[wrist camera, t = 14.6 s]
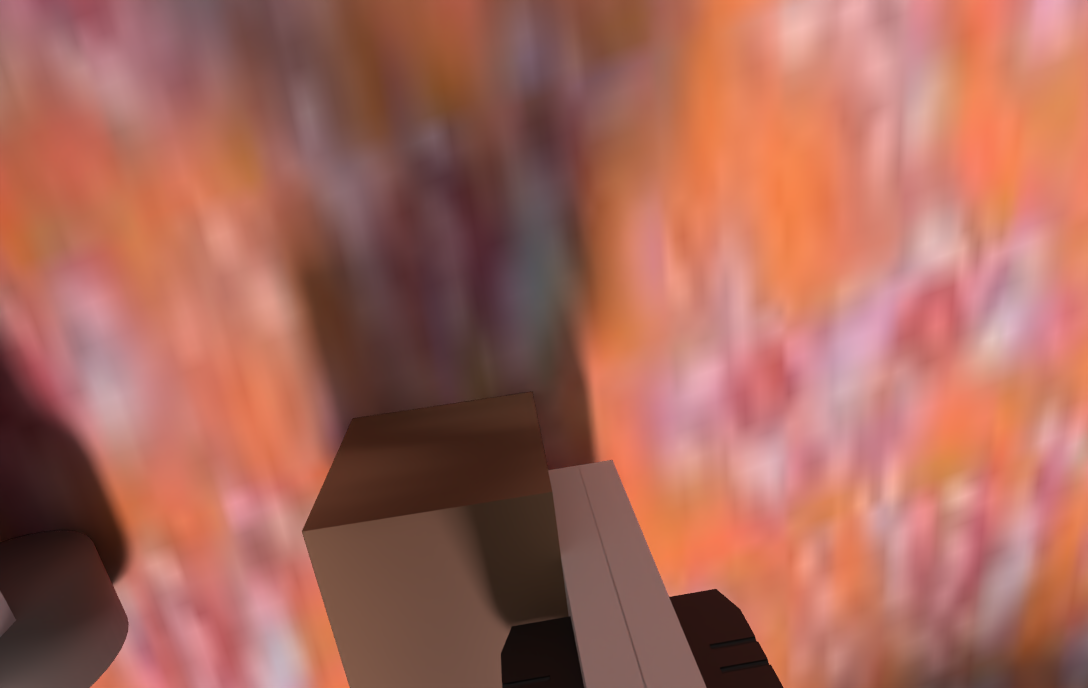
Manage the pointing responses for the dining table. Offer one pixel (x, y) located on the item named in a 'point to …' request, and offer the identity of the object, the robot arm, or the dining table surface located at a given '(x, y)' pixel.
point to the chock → (436, 542)
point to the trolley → (56, 612)
